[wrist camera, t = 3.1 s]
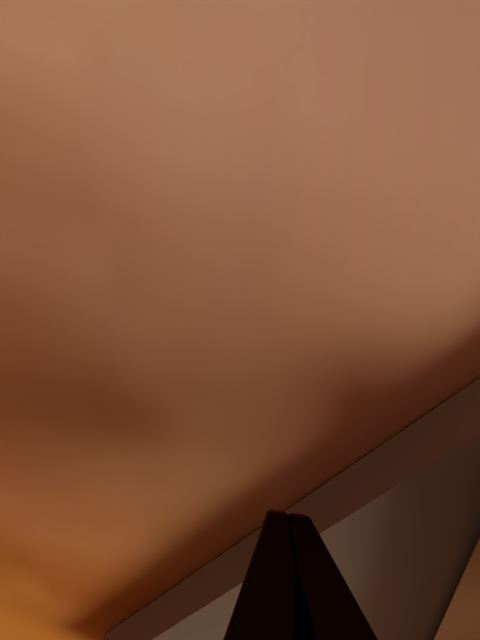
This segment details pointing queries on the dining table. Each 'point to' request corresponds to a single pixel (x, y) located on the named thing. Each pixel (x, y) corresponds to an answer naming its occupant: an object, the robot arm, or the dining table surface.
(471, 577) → the birch latch bar
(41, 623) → the dining table surface
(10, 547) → the dining table surface
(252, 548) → the keeper baseplate
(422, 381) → the dining table surface
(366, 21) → the dining table surface
